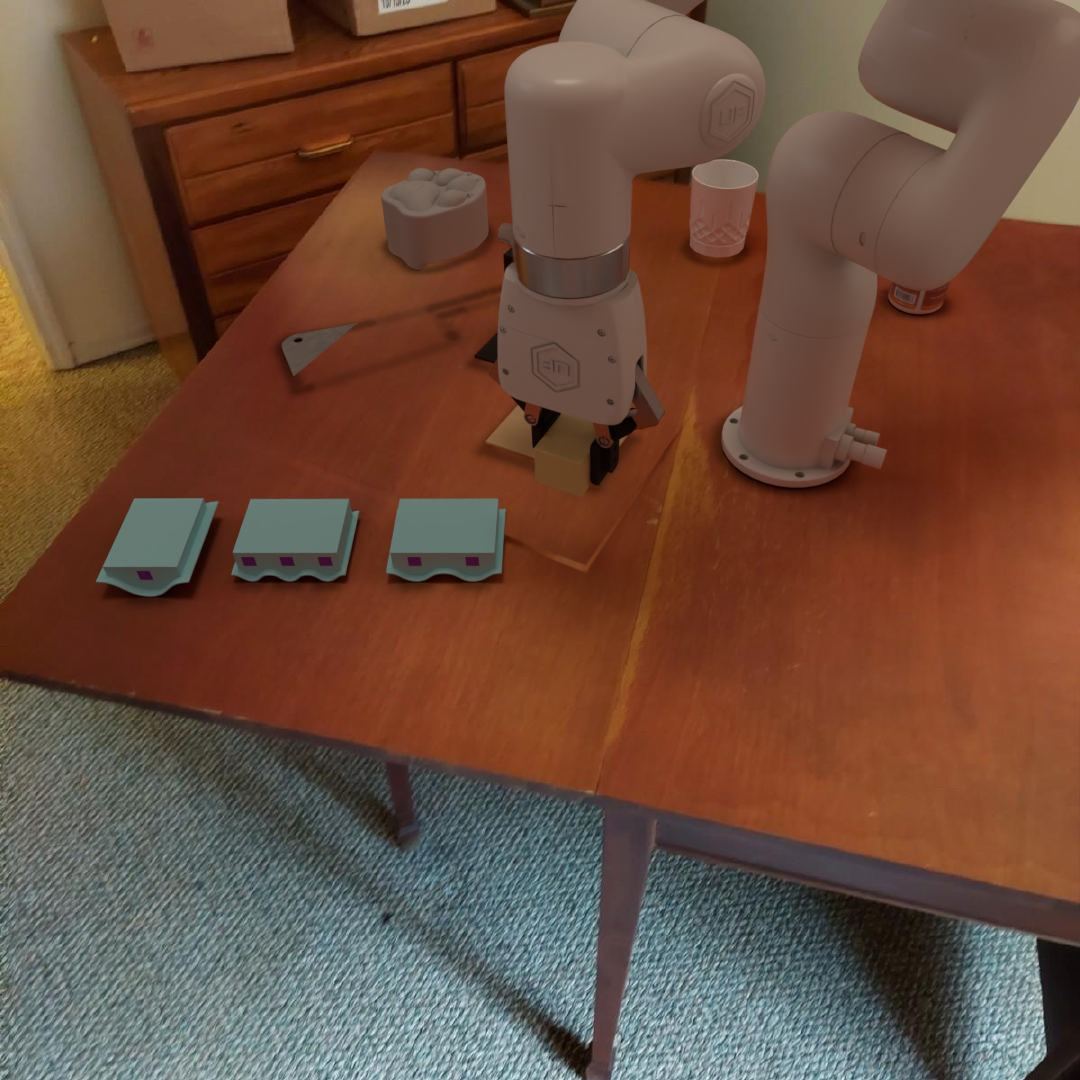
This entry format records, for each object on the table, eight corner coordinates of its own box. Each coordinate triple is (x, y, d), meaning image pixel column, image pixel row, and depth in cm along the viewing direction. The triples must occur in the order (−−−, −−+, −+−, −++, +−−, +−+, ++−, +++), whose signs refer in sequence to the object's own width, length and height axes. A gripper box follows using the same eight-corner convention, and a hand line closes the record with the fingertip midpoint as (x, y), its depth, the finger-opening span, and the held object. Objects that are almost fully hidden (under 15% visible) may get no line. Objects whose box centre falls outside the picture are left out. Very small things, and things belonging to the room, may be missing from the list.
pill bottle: (939, 290, 113) (967, 201, 105) (944, 318, 109) (974, 227, 101) (885, 286, 114) (908, 197, 106) (888, 313, 110) (913, 223, 102)
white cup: (685, 233, 124) (692, 157, 117) (747, 236, 123) (758, 160, 116) (683, 264, 119) (690, 186, 111) (747, 267, 118) (759, 189, 111)
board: (630, 439, 95) (630, 430, 94) (594, 488, 90) (595, 478, 89) (524, 406, 99) (524, 396, 98) (485, 450, 94) (484, 441, 94)
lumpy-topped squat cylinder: (379, 243, 124) (369, 178, 118) (462, 213, 129) (457, 150, 123) (421, 276, 118) (413, 209, 112) (507, 243, 123) (504, 178, 117)
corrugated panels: (139, 516, 89) (103, 596, 82) (129, 492, 87) (91, 573, 80) (506, 515, 88) (501, 597, 81) (504, 492, 86) (499, 573, 79)
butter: (569, 437, 78) (569, 403, 75) (614, 451, 77) (615, 416, 74) (535, 482, 74) (533, 448, 72) (581, 497, 73) (581, 463, 70)
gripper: (432, 255, 63) (460, 463, 76) (669, 315, 57) (654, 528, 70) (489, 205, 67) (506, 409, 81) (714, 255, 61) (692, 466, 75)
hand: (575, 463), depth 75 cm, fingers closed on butter, 4 cm apart
